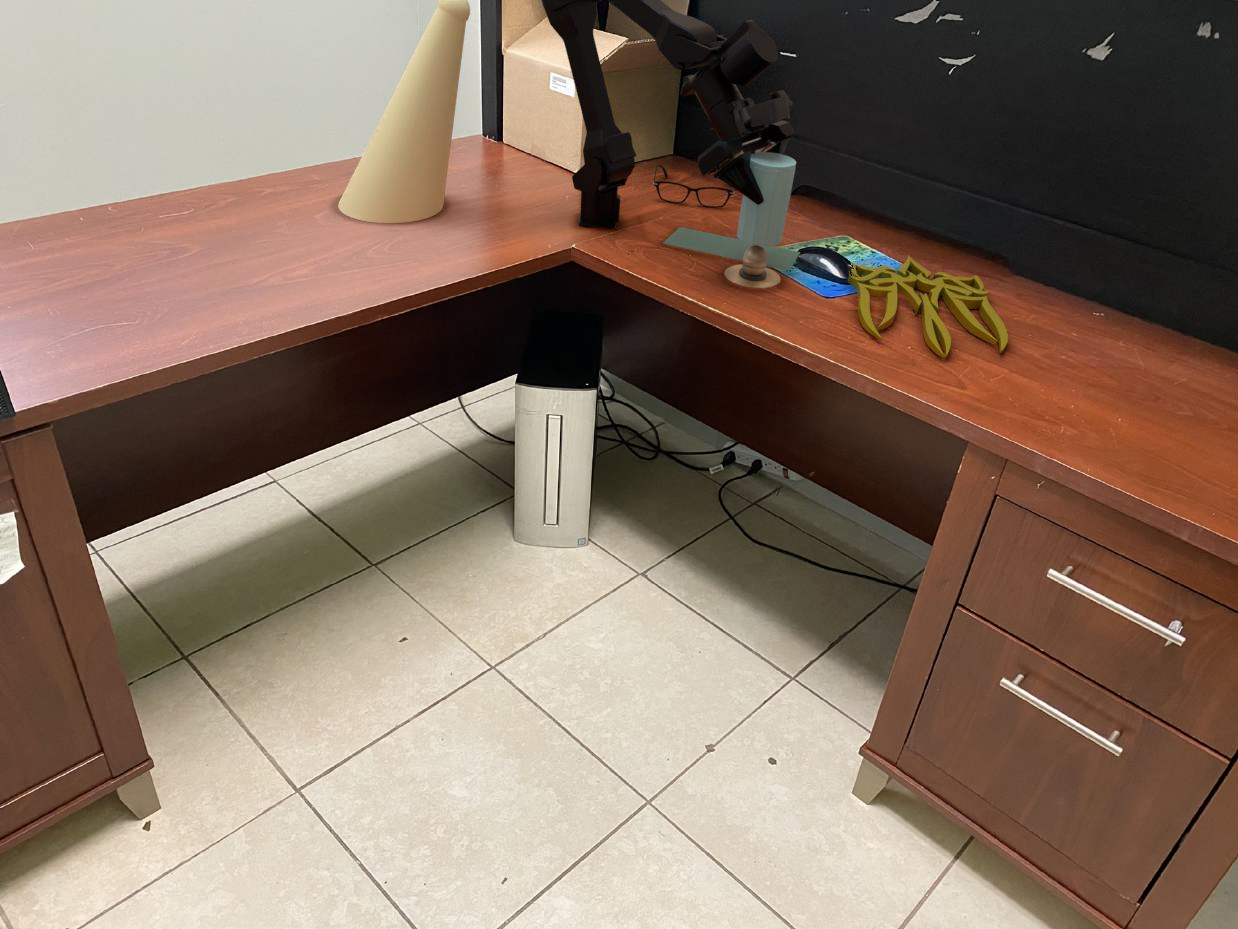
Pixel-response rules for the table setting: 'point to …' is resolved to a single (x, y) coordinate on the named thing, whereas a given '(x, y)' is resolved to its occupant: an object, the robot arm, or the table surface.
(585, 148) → the robot arm
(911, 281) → the gold ornamental emblem
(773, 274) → the knob on round base
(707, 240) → the mat
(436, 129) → the cone light
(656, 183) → the eyeglasses
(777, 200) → the tumbler
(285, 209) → the table surface
